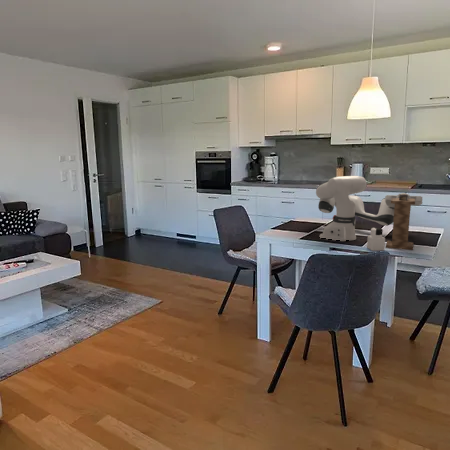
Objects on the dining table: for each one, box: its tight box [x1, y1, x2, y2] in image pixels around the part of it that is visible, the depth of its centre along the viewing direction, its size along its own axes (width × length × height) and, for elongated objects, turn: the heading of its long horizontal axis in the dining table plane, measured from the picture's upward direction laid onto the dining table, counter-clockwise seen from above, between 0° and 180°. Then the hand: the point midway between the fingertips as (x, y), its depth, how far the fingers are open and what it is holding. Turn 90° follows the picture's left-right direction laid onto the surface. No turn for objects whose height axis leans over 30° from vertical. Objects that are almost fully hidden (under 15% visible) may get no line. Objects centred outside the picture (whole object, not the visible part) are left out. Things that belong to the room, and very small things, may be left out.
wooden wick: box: [398, 192, 409, 200], centre depth 220 cm, size 4×16×3 cm, turn 155°
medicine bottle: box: [366, 227, 386, 252], centre depth 215 cm, size 7×7×12 cm
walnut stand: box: [385, 198, 415, 251], centre depth 218 cm, size 14×12×27 cm
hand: (403, 195), depth 224 cm, fingers closed on wooden wick, 2 cm apart
